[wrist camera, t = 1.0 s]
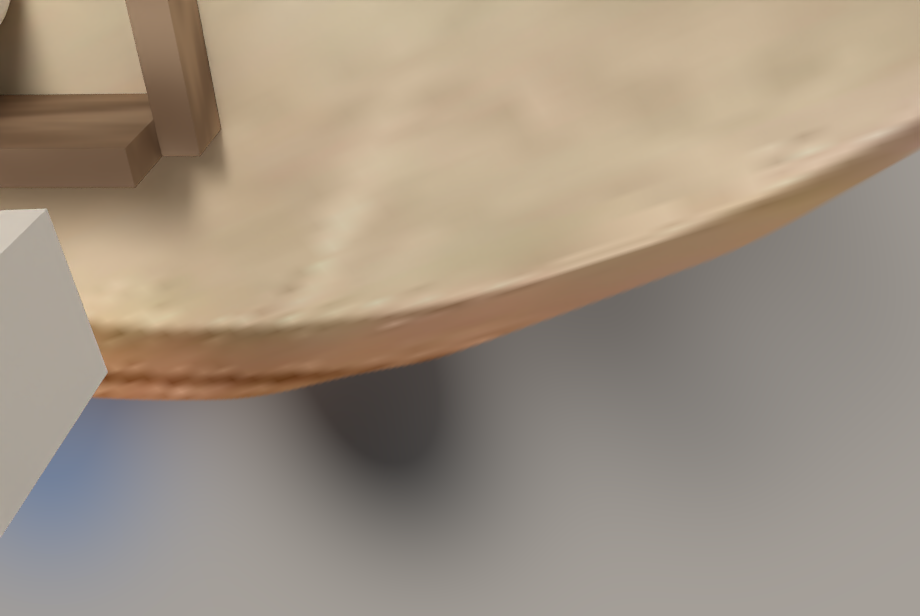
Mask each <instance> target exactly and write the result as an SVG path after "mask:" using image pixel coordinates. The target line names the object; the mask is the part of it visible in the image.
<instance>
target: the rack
mask: <svg viewBox="0 0 920 616" xmlns="http://www.w3.org/2000/svg"><path fill="white" fill-rule="evenodd" d="M125 1H126V6H127V10H128V14H129V18H130V22H131V27H132V31H133V35H134V39H135V44H136V48H137V52H138V56H139V61H140V65H141V69H142V73H143V77H144V82H145V86H146V90H147V94H65V95H0V188H135V187H136V186H137V185H138V184H139V183H140V181H141V180H142V179H143V178H144V177H145V176H146V174H147V173H148V172H149V171H150V170H151V169H152V167H153V166H154V165H155V164H156V163H157V162H158V160H159V159H160V158H161V157H162V156H201V154H202V153H203V152H204V150H205V149H206V148H207V146H208V145H209V144H210V142H211V141H212V140H213V139H214V137H215V136H216V135H217V133H218V132H219V131H220V129H221V126H220V121H219V116H218V111H217V105H216V100H215V95H214V90H213V84H212V79H211V74H210V69H209V64H208V58H207V53H206V48H205V43H204V37H203V32H202V27H201V22H200V16H199V11H198V6H197V1H196V0H125Z"/></svg>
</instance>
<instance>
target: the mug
mask: <svg viewBox="0 0 920 616" xmlns="http://www.w3.org/2000/svg"><path fill="white" fill-rule="evenodd" d="M9 4H10V0H0V25H1V23H2V21H3V19H4V18H5V15H6V13H7V10H8V7H9Z"/></svg>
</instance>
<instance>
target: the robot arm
mask: <svg viewBox="0 0 920 616" xmlns="http://www.w3.org/2000/svg"><path fill="white" fill-rule="evenodd" d="M107 373H108V371H107V369H106V366H105V363H104V361H103V358H102V355H101V353H100V350H99V347H98V345H97V342H96V339H95V336H94V334H93V331H92V328H91V326H90V323H89V320H88V318H87V315H86V312H85V310H84V307H83V304H82V302H81V299H80V296H79V293H78V291H77V288H76V285H75V283H74V280H73V277H72V275H71V272H70V269H69V267H68V264H67V261H66V258H65V256H64V253H63V250H62V248H61V245H60V242H59V240H58V237H57V234H56V232H55V229H54V226H53V223H52V221H51V218H50V215H49V213H48V210H47V208H46V209H20V210H0V538H1V536H2V535H3V533H4V532H5V530H6V529H7V527H8V526H9V524H10V522H11V521H12V519H13V518H14V516H15V515H16V513H17V511H18V510H19V509H20V507H21V505H22V504H23V502H24V501H25V499H26V498H27V496H28V495H29V493H30V491H31V490H32V488H33V487H34V485H35V484H36V482H37V481H38V479H39V478H40V476H41V474H42V473H43V471H44V470H45V468H46V467H47V465H48V464H49V462H50V460H51V459H52V457H53V456H54V454H55V453H56V451H57V450H58V448H59V447H60V445H61V443H62V442H63V441H64V439H65V437H66V436H67V434H68V433H69V431H70V430H71V428H72V427H73V425H74V424H75V422H76V420H77V419H78V417H79V416H80V414H81V412H82V411H83V410H84V408H85V407H86V405H87V403H88V402H89V400H90V399H91V397H92V396H93V394H94V393H95V391H96V390H97V388H98V386H99V385H100V383H101V382H102V380H103V379H104V377H105V376H106V374H107Z"/></svg>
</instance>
